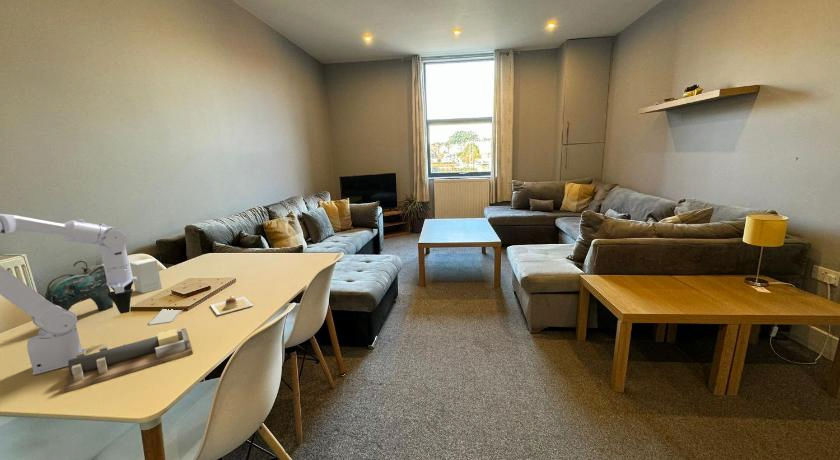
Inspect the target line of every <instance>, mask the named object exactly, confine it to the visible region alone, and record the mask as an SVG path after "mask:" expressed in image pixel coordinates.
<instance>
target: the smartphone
mask: <svg viewBox="0 0 840 460" xmlns="http://www.w3.org/2000/svg"><path fill="white" fill-rule="evenodd" d="M181 312H183V310H173V309H171V310H169V309H168V310H167V309H163V308H162V309H161V310H160V311H159V312H158V313H156V315H155V316H154V317H152V319H151V320H150V321H149V322H148V323H147V326H155V325H159V324H160V325H161V324H163V325H164V324H171V323H172V322H174V321H175V320H176V318H177V317H178V316H179V315H180V314H181Z"/></svg>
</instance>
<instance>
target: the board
mask: <svg viewBox="0 0 840 460" xmlns="http://www.w3.org/2000/svg"><path fill="white" fill-rule="evenodd" d="M176 330H177V334H178V339H179V341H178V342H174V343H170V344H167V345H163V346H160V347H156V348H155V350H156V352H152V353H149V354H145V355H142V356H138V357H135V358H132V359H128V360H125V361H121V362H118V363H114V364H111V365H107V364H106V360H105V357H104V358H100V359H97V367H98V368H97V369H93V370H90V371H86V372H83V371H82V367H81V364H78V365H74V366H72V373H73V376H71V375H70V372H69V371H68V373H67V377H66V379H65V383H64V385H63V393H66V392H70V391H73V390H76V389H77V390H78V389H80V388H84V387H86V386H90V385H93V384H96V383H100V382H102V381H106V380H109V379H113V378H116V377H120V376H122V375H125V374H129V373H133V372H136V371H140V370H143V369H146V368H150V367H152V366H156V365H159V364H164V363H166V362H170V361H172V360H173V361H174V360H176V359H179V358H183V357H186V356H190V355H192V354H194V352H193V347H192V343H191V340H190V337H189V334H188V332H187V331H188V330H187V328H186V327H185V328H182V329H176ZM153 337H157V335H155V336H153ZM108 349H109V347H108V345H103V346H100V347H99V349H98V352H100V351H104V350H108ZM86 355H87V354H85V351H83V352H80V353H77V354H76V358H78V357H82V356H86Z"/></svg>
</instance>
